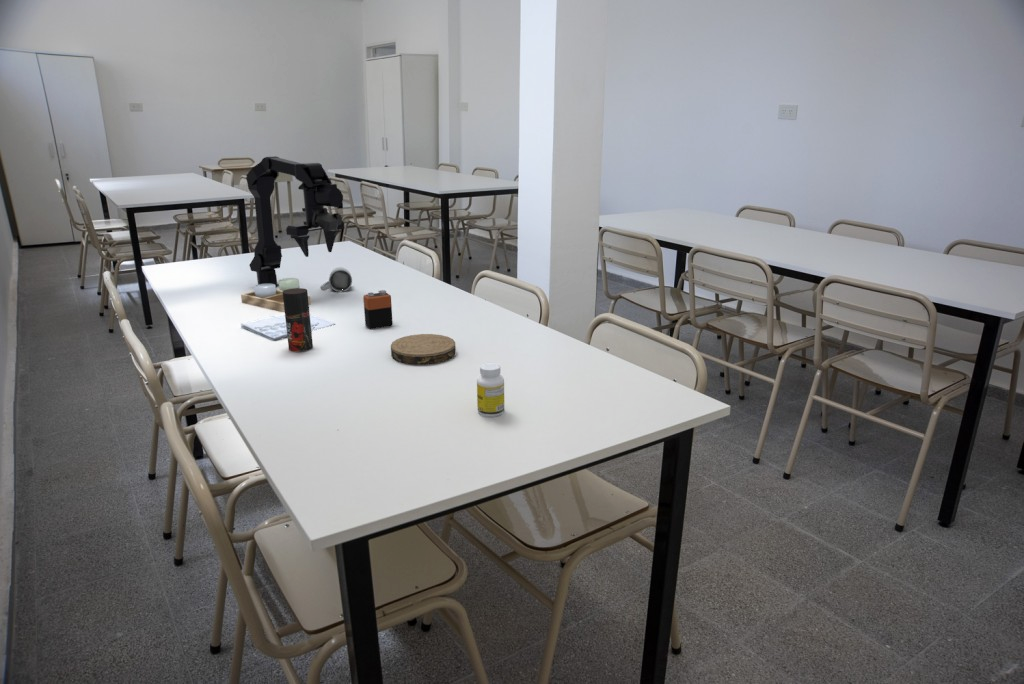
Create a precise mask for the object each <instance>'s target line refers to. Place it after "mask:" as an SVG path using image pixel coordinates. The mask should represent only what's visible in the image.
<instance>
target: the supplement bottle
mask: <svg viewBox="0 0 1024 684" xmlns="http://www.w3.org/2000/svg"><path fill="white" fill-rule="evenodd" d="M479 373H480V375H478V377H477V379H476V394H477V395H476V397H477V399H476V400H477V402H476V404H477V412H478V414H479V415H481V416H482V417H485V418H486V417H488V418H494V417H499V416H501V415H503V414H504V412H505V378H504V376H503V375H501V365H500V364H498V363H496V362H487V363H483V364H481V365H480V367H479Z"/></svg>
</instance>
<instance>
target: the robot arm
mask: <svg viewBox="0 0 1024 684" xmlns="http://www.w3.org/2000/svg"><path fill="white" fill-rule="evenodd" d="M280 173H282V174H286V175H289V176H290V175H291V176H293V177H295V179H296V180H297V181H299V182H300V183H301V184H299V186H298V190H302V192H303V201H304V202H303V203H304V204H303V205H304V207H302V208H301V209H302V211H301V212H304V213H305V221H303V224H300V223H299V224H298V223H294V224H289V225H287V227H286V229H285V231H286V235H288V236H290V238H293V239H294V240H295V242H296V243H297V244H298V246H299V248H300V250H301V252H302V253H303V255H304V256H305V258H308V257H309V239H310V237H311V236H310V235H308V234H309V233H310V232H313V231H319V230H323V234H324V239H325V240H324V241H325V245H326V248H327V252H328V253H332V251H333V247H334V244H335V240H336V237H337V235H339V234H340V233H341V232H342V230H344V229H345V226H346V225H345V222H344V221H343V219H342V214H340V213H339V212H336V213H335V212H334V213H333V214H329V212H328V209H327V207H331V208H338V207H340V206H341V205H342V203H343V201H344V200H343V199H344V195H343V193H342V191H341V190H340V188H338V184H337V183H332V181H331V179H330V177H329V176H328V174H327V172H326V171H325V169H324V167H323V165H322V164H321V163H319V162H304V163H303V162H302V163H301V162H297V161H293V160H290V159H286V158H280V157H278V156H265V157H263V158H262V160H261V161H260V162H259V163H257V164H255V165H254V166H253V167H252V168H250V170H249V171H248V173H246V183H247V189H248V191H249V192H250V193H251V194H252V196H253V197H254V206H255V208H254V209H255V218H256V227H257V228H256V229H257V238H258V239H257V240H258V241H257V242H256V244H255V247H254V251H253V252H254V253H253V254H254V257H253V258H252V260H251V262H250V264H249V268H250V271H252V272H255V273H256V278H257V279H256V280H257V285H258V284H267V283H270V284H275V286H276V287H279V283H278V280H277V279H278V278H277V273H276V269H281V262H282V258H283V254H282V247H281V245H278V243H277V242H276V240H275V237H274V224H273V213H272V203H271V202H272V201H271V198H272V195H273V194H274V191H275V187H276V186H275V181H276V180H277V179H278V177H279V176H280Z"/></svg>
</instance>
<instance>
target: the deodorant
mask: <svg viewBox="0 0 1024 684" xmlns="http://www.w3.org/2000/svg"><path fill="white" fill-rule="evenodd" d="M308 296H309V295H308V289H307V288H304V287H303V288H301V287H300V288H293V289H287V290H284V291H283V301H284V310H285V312H284V315H285V319H286V328H287V337H286V338H287V344H288V350H289V351H290V352H293V353H297V352H298V353H302V352H307V351H310V350H312V349H313V347H314V344H313V331H312V332H311V322H310V315H311V313H310V305H309V302H308Z"/></svg>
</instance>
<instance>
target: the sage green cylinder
mask: <svg viewBox="0 0 1024 684" xmlns="http://www.w3.org/2000/svg"><path fill="white" fill-rule="evenodd" d="M278 284H279V286H278V288H279V289H278V290H281V291H284V290H287V289H293V288H301V287H300V279H299V278H297V277H296V278H295V277H284V278H281V279H279V280H278Z"/></svg>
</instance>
